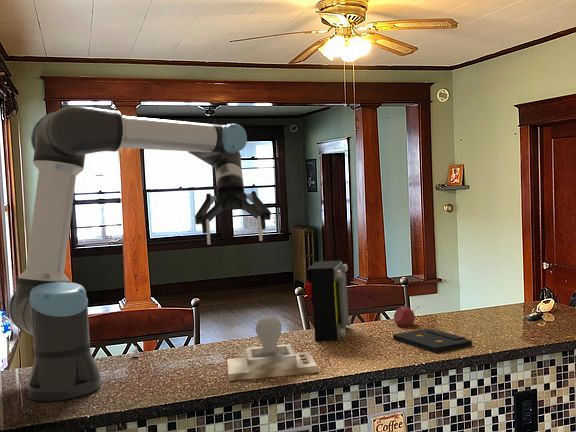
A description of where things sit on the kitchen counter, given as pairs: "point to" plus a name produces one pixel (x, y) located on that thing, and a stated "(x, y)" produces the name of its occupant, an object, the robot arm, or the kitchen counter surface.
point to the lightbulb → (269, 334)
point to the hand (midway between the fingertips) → (235, 239)
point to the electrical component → (328, 299)
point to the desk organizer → (270, 364)
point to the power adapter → (134, 353)
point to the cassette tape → (432, 340)
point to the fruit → (404, 316)
